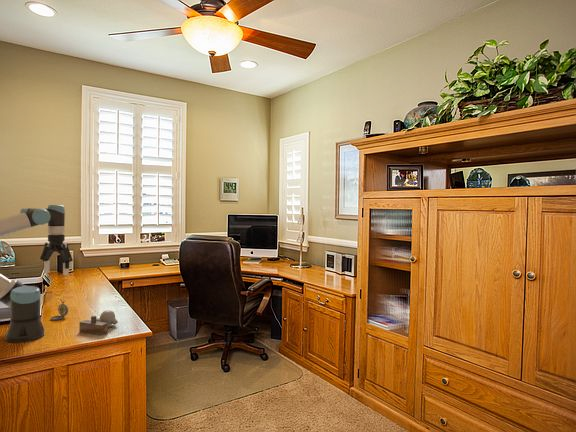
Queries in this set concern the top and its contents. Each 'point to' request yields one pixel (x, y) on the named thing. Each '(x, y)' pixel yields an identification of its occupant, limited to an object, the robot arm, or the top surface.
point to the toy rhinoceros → (107, 318)
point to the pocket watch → (61, 312)
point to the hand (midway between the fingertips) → (56, 274)
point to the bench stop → (93, 326)
